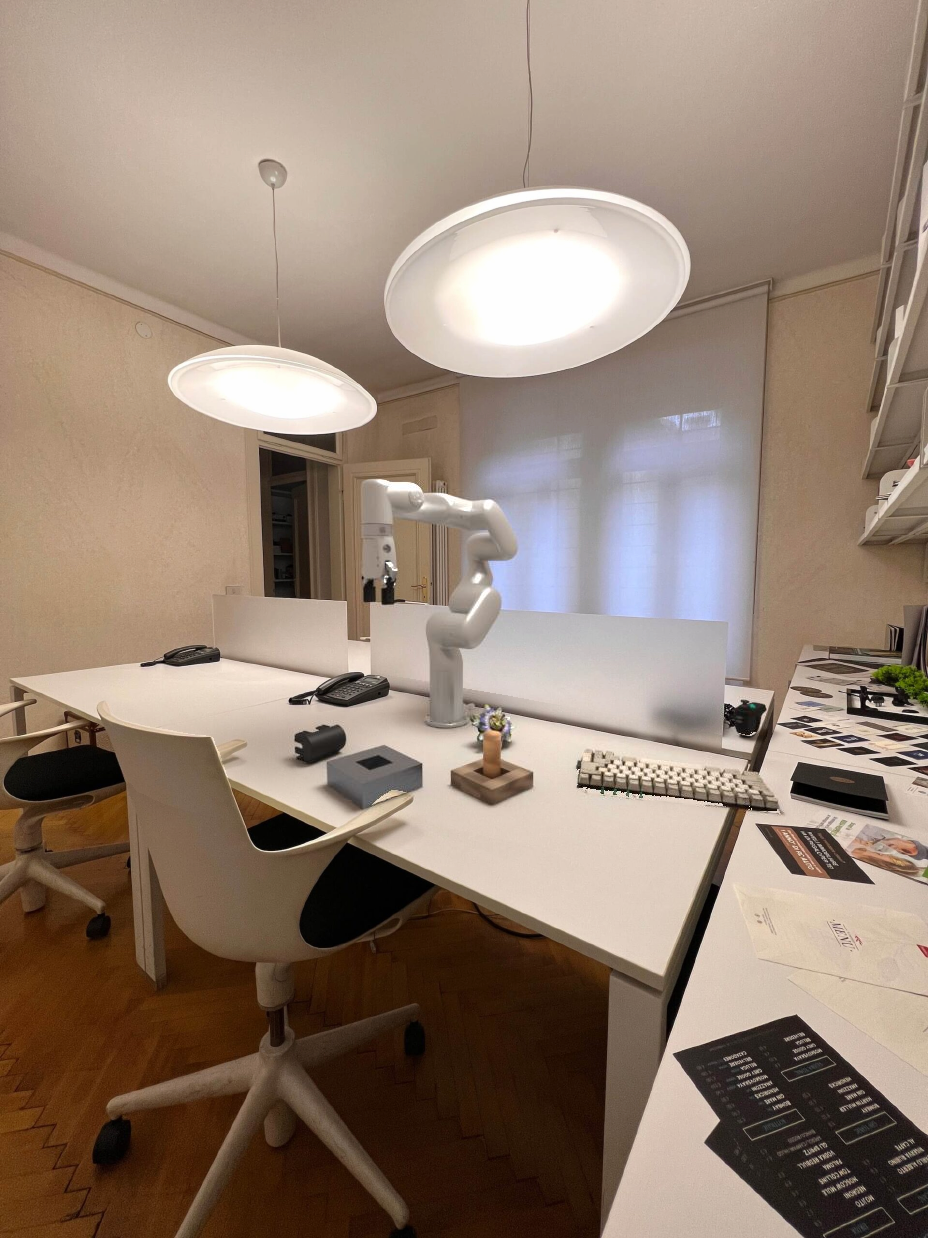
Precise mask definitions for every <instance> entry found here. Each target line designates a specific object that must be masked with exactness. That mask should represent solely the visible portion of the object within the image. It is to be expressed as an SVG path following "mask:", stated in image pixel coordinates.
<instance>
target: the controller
mask: <svg viewBox="0 0 928 1238" xmlns="http://www.w3.org/2000/svg"><path fill="white" fill-rule="evenodd" d="M740 703H741V704H739V705H738V706H736V707H734V708H733V719H734V729H735V731H736V733H737V734H739V733H741V734H745V735H750V734H752V733H753V732H757V733H758V731H759V729H760V725H761V722H762V716H763V714H764V713H766V712H767V706H766V704H764V703H760V702H756V701H755V702H754V701H752V702H751V701H750V700H747V699H740ZM751 732H752V733H751Z"/></svg>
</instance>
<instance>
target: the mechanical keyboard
mask: <svg viewBox="0 0 928 1238" xmlns="http://www.w3.org/2000/svg"><path fill="white" fill-rule="evenodd" d="M581 757H582V758H581V759H580V760H579V759H578V760H577V761H576V762H577V764H576V766H575V769H577V770H578V769H580V770H579V772H578V773H579V774H578V775H577V783H576V789H579V788H583V787H587V788H586V789H588V788H590V789H596V790H601V792H600V793H601V794H604V790H605V791H608V790H609V791H614V792H613V795H617V794H616V792H617V791H621V793H622V792H623V793H624V792H627V793H626V796H628V797H629V793H632V794H638V795H639V794H640V796H639V798H643V796H642V794H645V795H652V796H654V795H655V796H660V797H661V796H666V797H667V796H669V797H675V798H684V799H693V800H697V801H704V802H705V801H707V802H711V803H718V804H719V803H722V804H723V806H726V807H725V808H727V809H728V808H729V809H737V810H745V811H751V808H752V812H759V811H777V809H779V810H780V806H779V799H778V798H777V797H775V794H774V792H772V791H771V789H770V788H769V787H768V786H767V785H766V783H765V782H764V780H763V778H762V777H761V775H760V773H759V772H757V771H749V770H743V771H742V773H741V772H740V770H739V769H730V768H724V769H723V770H721V768H720V767H716V766H715V767H714V766H708V765H706V766H704V769H703V767H702V765H701V764H694V763H693V764H692V763H687V762H677V761H676V762H675V761H669V760H661V759H651V758H644V757H641V758H639V761H638V760H637V758H636V757H631V756H622V758H621V759H620V756H619V755H615V753H614V751H609V750H606V751H605V753H604V752H603V750H598V749H595V751H593V749H591V748H590V749H589V748H585V749H584V752H583V755H582V756H581ZM577 770H576V771H577ZM577 784H578V785H577ZM749 806H750V807H749ZM748 809H750V810H748Z"/></svg>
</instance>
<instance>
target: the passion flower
mask: <svg viewBox="0 0 928 1238" xmlns="http://www.w3.org/2000/svg"><path fill="white" fill-rule="evenodd" d="M469 720H470V721H471V722H472V723H471V725H472V726H474V728H477V732H478V734H477V736H476V740H477V741H483V733H484V732H486V731H498V732H500V733H501V748H502V746H503V741H506V743H511V742H512V730H514V729H515V728H516V727H517V726H516V725H515V724H513V723H512V722H511V717H510V716H507V715H506V714H505V713H503V712H502V707H499V708H497V709H496V710H494V708H493V707H492V708H491V707H490V706H489V705H488V704H484V708H483V711H482V713H480V714H476V713H473V714H472V716H470V718H469ZM474 720H475V721H474Z"/></svg>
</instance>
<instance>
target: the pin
mask: <svg viewBox="0 0 928 1238" xmlns="http://www.w3.org/2000/svg"><path fill="white" fill-rule="evenodd" d="M482 741H483V742H482V743H483V745H482V747H483V748H482V749H483V750H482V753H483V755H482V759H483V776H485V777H488V778H490V779H494V778H497V777H499V776H501V759H502V747H501V733H500V732H498V731H486V732H484V733H483V740H482Z"/></svg>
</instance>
